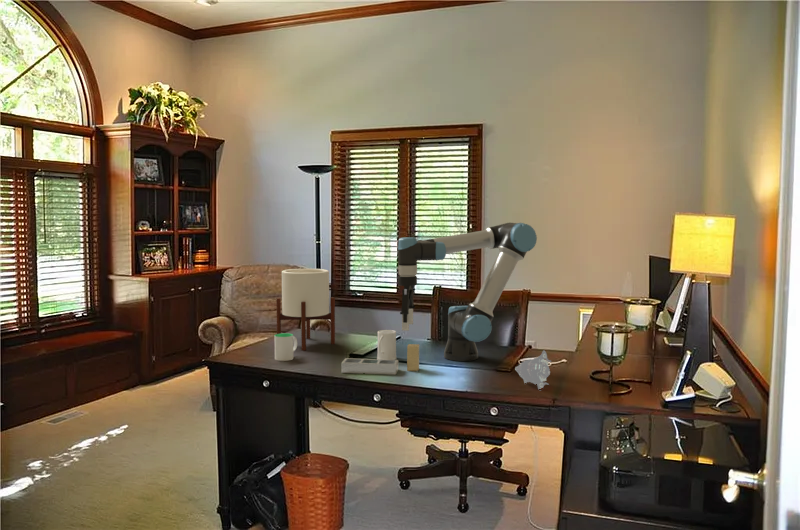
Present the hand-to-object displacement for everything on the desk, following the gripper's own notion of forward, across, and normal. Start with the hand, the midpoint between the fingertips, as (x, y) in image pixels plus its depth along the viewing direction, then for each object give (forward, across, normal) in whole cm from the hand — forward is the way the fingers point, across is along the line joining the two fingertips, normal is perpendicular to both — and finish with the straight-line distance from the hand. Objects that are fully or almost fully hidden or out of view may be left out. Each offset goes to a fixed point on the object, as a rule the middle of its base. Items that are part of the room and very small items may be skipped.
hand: (407, 327), depth 257 cm
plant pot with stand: (+17, -38, -55) cm, 69 cm away
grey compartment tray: (+17, +6, -14) cm, 23 cm away
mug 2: (+17, -15, -12) cm, 26 cm away
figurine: (+18, +18, +49) cm, 55 cm away
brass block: (+17, +1, +2) cm, 17 cm away
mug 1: (+17, -10, -55) cm, 59 cm away
